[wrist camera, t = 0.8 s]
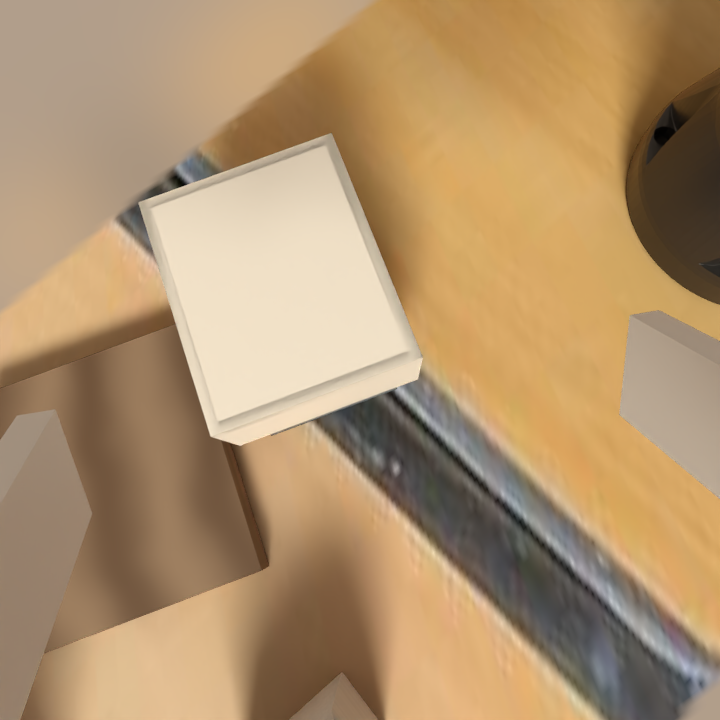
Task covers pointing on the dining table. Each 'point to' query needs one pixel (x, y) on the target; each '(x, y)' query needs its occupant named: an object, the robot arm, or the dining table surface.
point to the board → (142, 484)
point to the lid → (279, 292)
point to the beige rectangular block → (336, 703)
